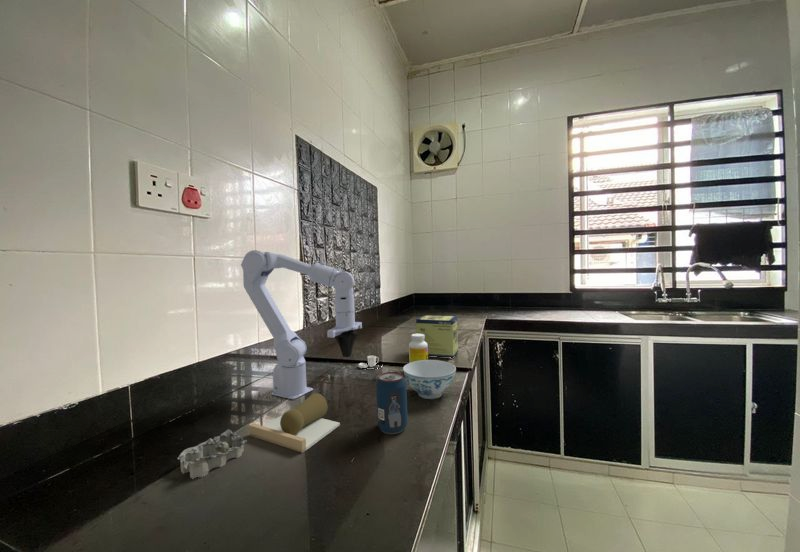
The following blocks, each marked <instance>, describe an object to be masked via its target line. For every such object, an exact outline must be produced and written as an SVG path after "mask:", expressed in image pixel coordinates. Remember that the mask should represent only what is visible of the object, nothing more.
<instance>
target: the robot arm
mask: <svg viewBox="0 0 800 552" xmlns="http://www.w3.org/2000/svg"><path fill="white" fill-rule="evenodd" d="M240 267H241V268H242V272H243V275H242V277H243V278H242V279H243V281H242V282H243V288H244V290H245V291H246V293H247V295H248V297H249V299H250V300H251V301H252V304H253V305H254V307H255V309H256V311H257V312H258V314H259V315H260V317H261V319H262V321H263V322H264V324H265V325H266V327H267V329H268V331H269V333H270V334H271V336H272V338H273V340H274V341H273V348H274V350H275V351H276V352H275V353H276V360H277V362H278V363H277V364H276V365H275V366H274V367H273V370H272V384H273V386H272V390H273V391H272V392H271V395H272V396H276V397H280V398H284V399H289V400H296V399H299V398H300V397H302V396H304V395H306V394H308V393H309V392H312V391H313V390H314V388H312V387H309V386H307V371H306V370H307V368H306V366H307V365H306V359H305V355H306V353H307V348H308V347H307V344H306V342H305V341H304V340H303V339H302V338H300V337H299V336H298V333H296V332H295V331H293V330H292V329H291V328H290V326H289V324H288V323H287V321H286V319H285V317H284V316H283V313H282V312H281V310H280V309H279V306H278V305H277V304H276V302H275V300H274V298H273V297H272V295H271V293H270V292H269V290H268V288H267V286H266V283H267V280H268V277H269V275H271V273H272V272H273V271H274V270H275V269H282V268H284V269H286V270H289V271H293V272H296V273H300V274H302V275H306V276H307V277H308V278H309V281H311V282H314V283H317V284H320V285H322V286H323V285H324V286H326V287H329V288H332V287H333V288H334V293H335V294H334V296H335V297H334V306H335V307H334V309H335V310H334V311H335V326H334V327H332V328H331V329H328V330H326V331H327V332H326V333H327V336H326V337H327V338H331V339H332V338H335V340H336V342H337V344H338V346H339V347H340V352H341V355H342V357H345V358H350V357H351V356H352V351H353V347H354V344H355V341H356V338H357V337H358V331H356V330H358V329H363V325H362V324H363V322H362V321H356V313H355V311H356V310H355V295H354V287H353V286H354V284H355V278H354V276H353V275H352V273H351V272H348V271H347V270H344V271H341V270H342V269H341V268H339V267H337V268H334V267H332V266H329V265H327V264H326V262H323V261H321V262H315V263H313V264H312V265H311V264H309V263H306V262H304V261H301V260H298V259H295V258H292V257H290V256H287V255H285V254H280V253H273V252H269V251H261V250H256V249H255V250H254V249H252V250H250V251H248V252H247V253H246V254H245V255H244V256H243V259H242V260H241V263H240Z"/></svg>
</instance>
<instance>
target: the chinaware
mask: <svg viewBox="0 0 800 552" xmlns="http://www.w3.org/2000/svg"><path fill="white" fill-rule="evenodd" d="M402 369H403V376H404V379H405V381H406V383H407V384H408V385H409V386H410V388H411V389H412V390H414V391H415V392H417V394H418V396H419V397H421V398H422V399H427V400H434V399H438V398H440V397H441V396H442V395H443V393H444V392H445V391H446V390H447V389H448V388H449V387H450V386H451V385H452V383H453V382H454V379H455V377H456V376H455V375H456V371H457V368H456V366H455V365H454V364H453V363H452V362H451V363H450V362H447V361H445V360H440V359H439V360H438V359H428V360H420V361H415V362H411V363H407V364H405V365H403V368H402Z"/></svg>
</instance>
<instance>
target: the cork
mask: <svg viewBox="0 0 800 552" xmlns="http://www.w3.org/2000/svg"><path fill="white" fill-rule="evenodd" d="M327 411H328V401H327V400H326V398H325V397H324V396H323V395H322V394H320V393H317V392H315V393H311V395H309V396H308V397H307V398H306V399H304V400H303V401H302V402H301V403H300V404H299V405H297V406H296V407H295V408H293V409H289V410H287V411H285V412H284V413H282V415H283V416H282V417H281V420H280V425H281V428H282V430H283V432H285V433H288V434H291V435H294V434H296V433H298V432H299V431H300V430H301V429H302V427H303V426H304V425H306V424H309V423H311V422H313V421H315V420H317V419H319V418H323V417H324V416H325V415H326V414H327V413H328V412H327Z"/></svg>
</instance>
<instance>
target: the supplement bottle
mask: <svg viewBox="0 0 800 552" xmlns="http://www.w3.org/2000/svg"><path fill="white" fill-rule="evenodd" d="M410 338H411V341H410V342H409V344H408V354H409V355H408V356H409V357H408V359H409V360H408V361H409V363H411V362H415V361H420V360H429V357H428V345H427V343H426V342H425V341H424V338H425V335H424V334H416V333H412V334H411V337H410Z"/></svg>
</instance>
